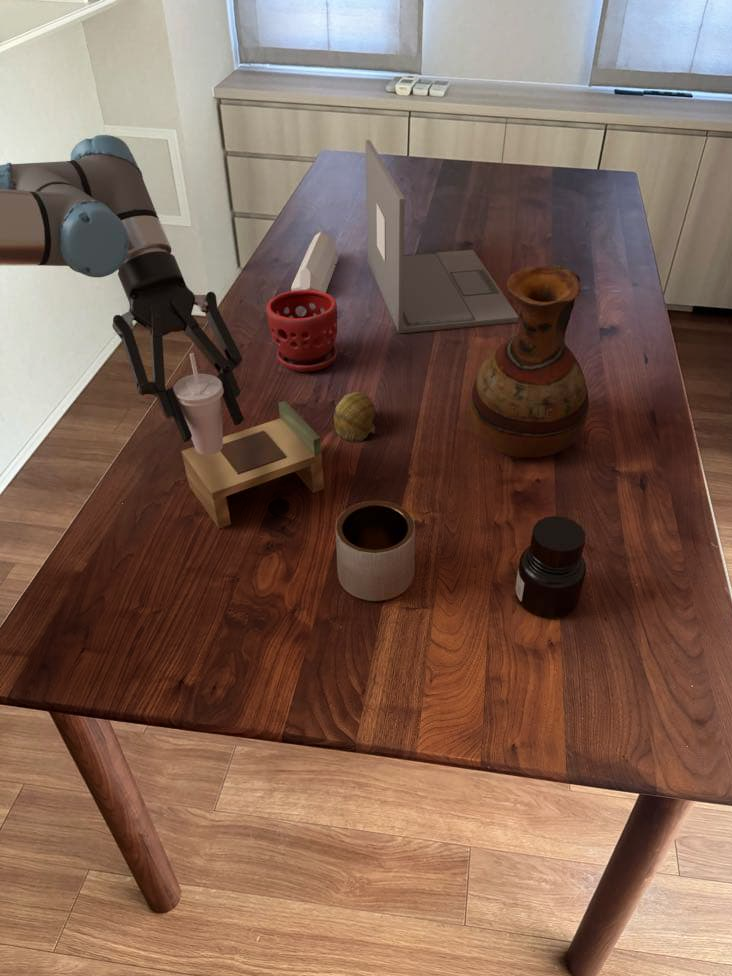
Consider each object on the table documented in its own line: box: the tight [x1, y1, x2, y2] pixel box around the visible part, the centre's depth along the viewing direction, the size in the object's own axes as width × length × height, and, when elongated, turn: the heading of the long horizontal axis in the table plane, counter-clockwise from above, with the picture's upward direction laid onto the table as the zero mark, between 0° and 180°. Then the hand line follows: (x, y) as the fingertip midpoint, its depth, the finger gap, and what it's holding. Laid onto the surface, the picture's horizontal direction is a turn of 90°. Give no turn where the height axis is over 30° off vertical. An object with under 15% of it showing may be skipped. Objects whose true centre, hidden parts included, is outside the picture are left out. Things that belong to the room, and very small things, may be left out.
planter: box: [334, 500, 416, 602], centre depth 109 cm, size 11×11×10 cm
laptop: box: [365, 139, 520, 335], centre depth 169 cm, size 35×26×27 cm
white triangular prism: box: [290, 230, 339, 293], centre depth 180 cm, size 7×7×24 cm
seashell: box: [333, 391, 376, 443], centre depth 138 cm, size 10×7×8 cm
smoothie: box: [172, 352, 224, 455], centre depth 103 cm, size 6×6×14 cm
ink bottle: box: [514, 515, 587, 620], centre depth 106 cm, size 10×9×12 cm
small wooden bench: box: [181, 400, 325, 530], centre depth 123 cm, size 18×12×10 cm, turn 123°
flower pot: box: [266, 290, 338, 373], centre depth 152 cm, size 13×13×12 cm
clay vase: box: [470, 263, 590, 458], centre depth 128 cm, size 20×20×30 cm
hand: (213, 430), depth 103 cm, fingers closed on smoothie, 6 cm apart
